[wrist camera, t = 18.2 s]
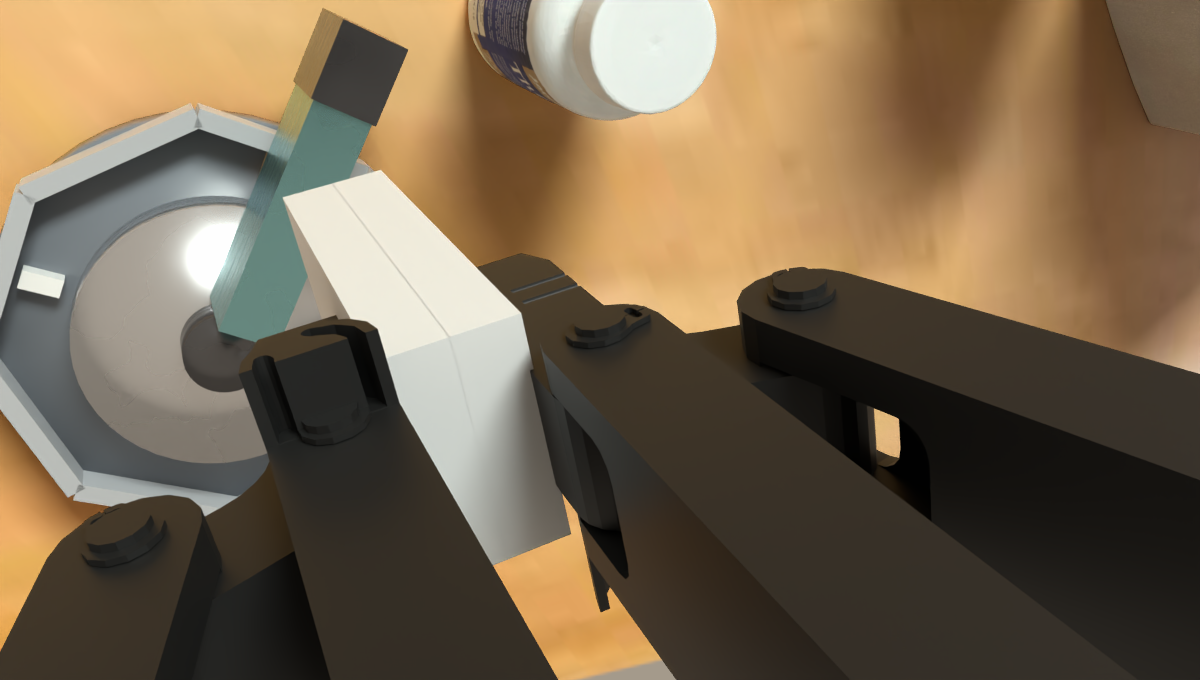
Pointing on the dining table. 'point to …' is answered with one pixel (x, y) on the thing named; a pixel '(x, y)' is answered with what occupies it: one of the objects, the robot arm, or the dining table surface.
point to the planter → (1162, 57)
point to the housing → (55, 265)
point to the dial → (222, 268)
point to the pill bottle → (599, 51)
